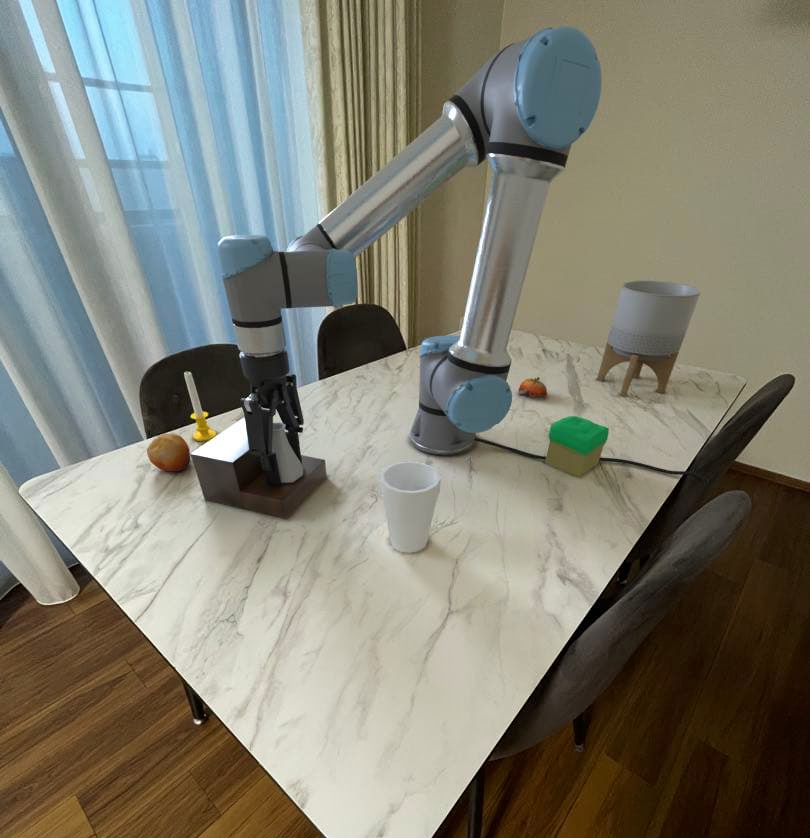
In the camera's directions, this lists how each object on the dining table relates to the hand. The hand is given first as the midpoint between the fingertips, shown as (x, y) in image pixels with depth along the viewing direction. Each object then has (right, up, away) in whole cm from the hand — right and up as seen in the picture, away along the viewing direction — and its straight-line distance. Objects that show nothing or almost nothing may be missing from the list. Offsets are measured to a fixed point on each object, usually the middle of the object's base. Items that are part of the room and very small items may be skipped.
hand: (284, 473), depth 90 cm
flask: (0, 0, 0) cm, 0 cm away
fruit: (-26, +3, +10) cm, 28 cm away
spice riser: (-4, -2, +4) cm, 6 cm away
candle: (-24, +11, +21) cm, 34 cm away
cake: (+59, +4, +13) cm, 61 cm away
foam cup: (+24, -13, -9) cm, 28 cm away
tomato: (+59, +28, +42) cm, 77 cm away
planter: (+89, +33, +48) cm, 107 cm away
